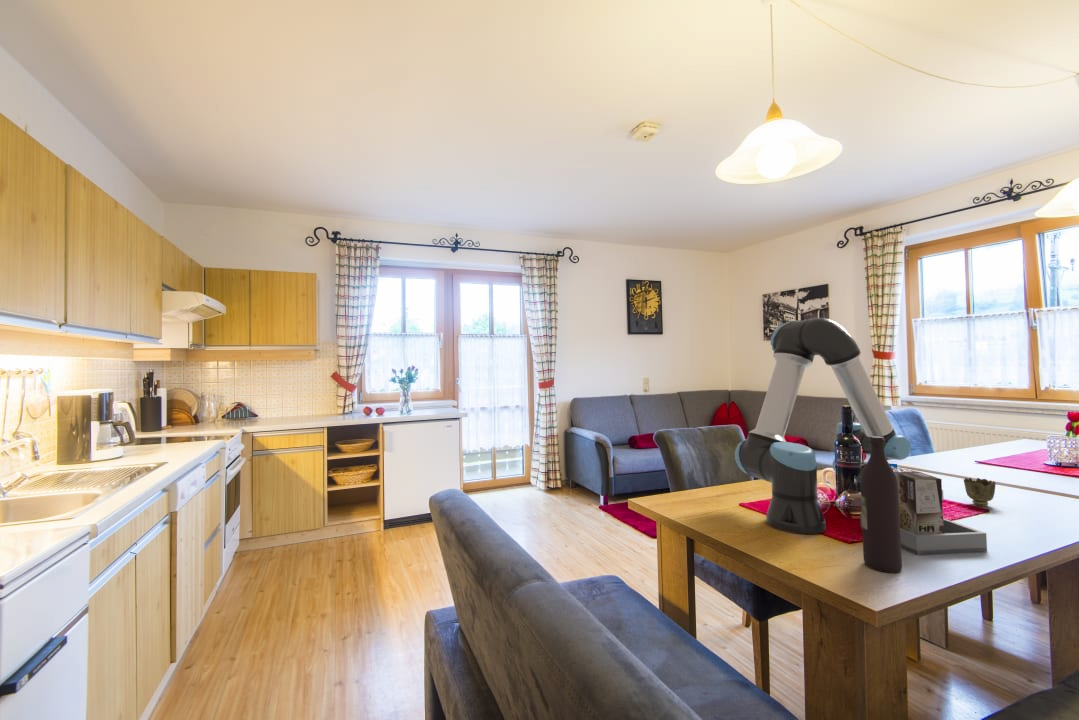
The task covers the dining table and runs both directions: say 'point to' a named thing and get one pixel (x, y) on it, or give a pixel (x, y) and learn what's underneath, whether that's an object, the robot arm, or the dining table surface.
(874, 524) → the wine bottle
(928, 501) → the coffee box
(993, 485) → the cup
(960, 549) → the tray
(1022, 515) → the dining table surface
